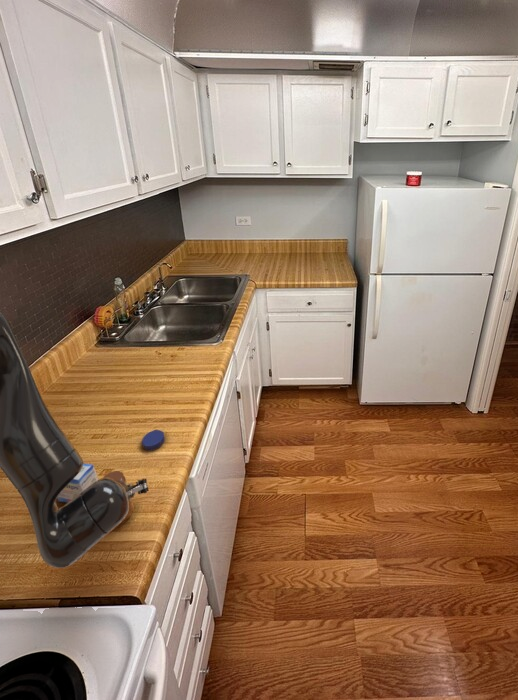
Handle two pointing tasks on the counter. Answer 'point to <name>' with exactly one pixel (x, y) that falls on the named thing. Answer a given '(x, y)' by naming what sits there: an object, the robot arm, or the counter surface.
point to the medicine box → (78, 483)
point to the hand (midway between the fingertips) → (116, 496)
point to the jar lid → (153, 440)
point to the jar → (120, 477)
